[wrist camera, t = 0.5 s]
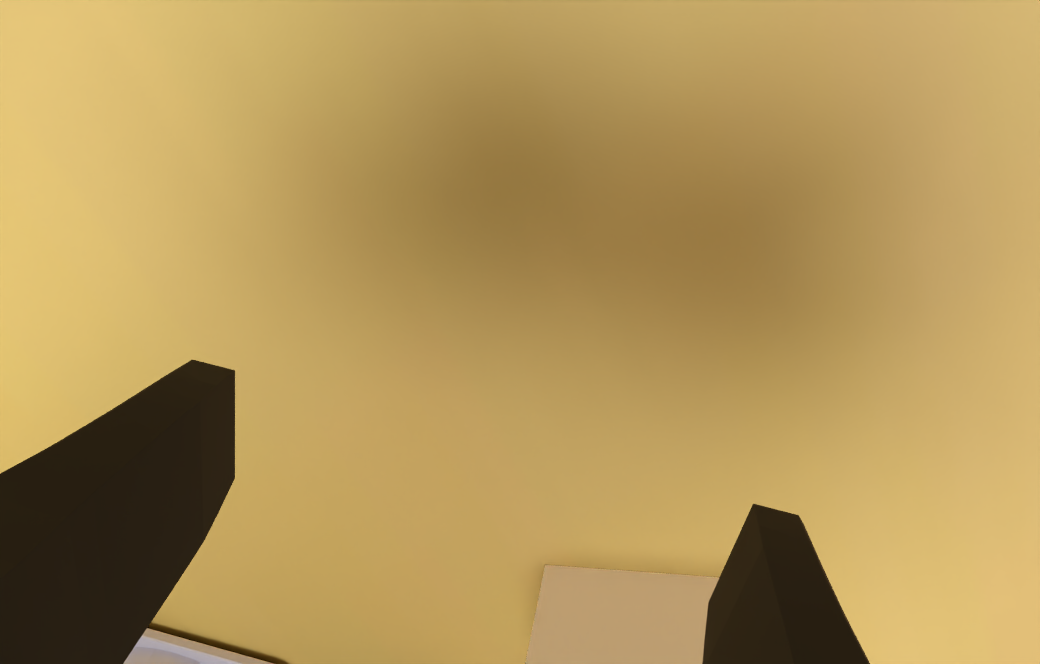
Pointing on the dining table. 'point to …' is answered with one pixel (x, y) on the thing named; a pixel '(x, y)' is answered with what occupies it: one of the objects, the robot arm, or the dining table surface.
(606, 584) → the beige cube
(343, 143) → the dining table surface
